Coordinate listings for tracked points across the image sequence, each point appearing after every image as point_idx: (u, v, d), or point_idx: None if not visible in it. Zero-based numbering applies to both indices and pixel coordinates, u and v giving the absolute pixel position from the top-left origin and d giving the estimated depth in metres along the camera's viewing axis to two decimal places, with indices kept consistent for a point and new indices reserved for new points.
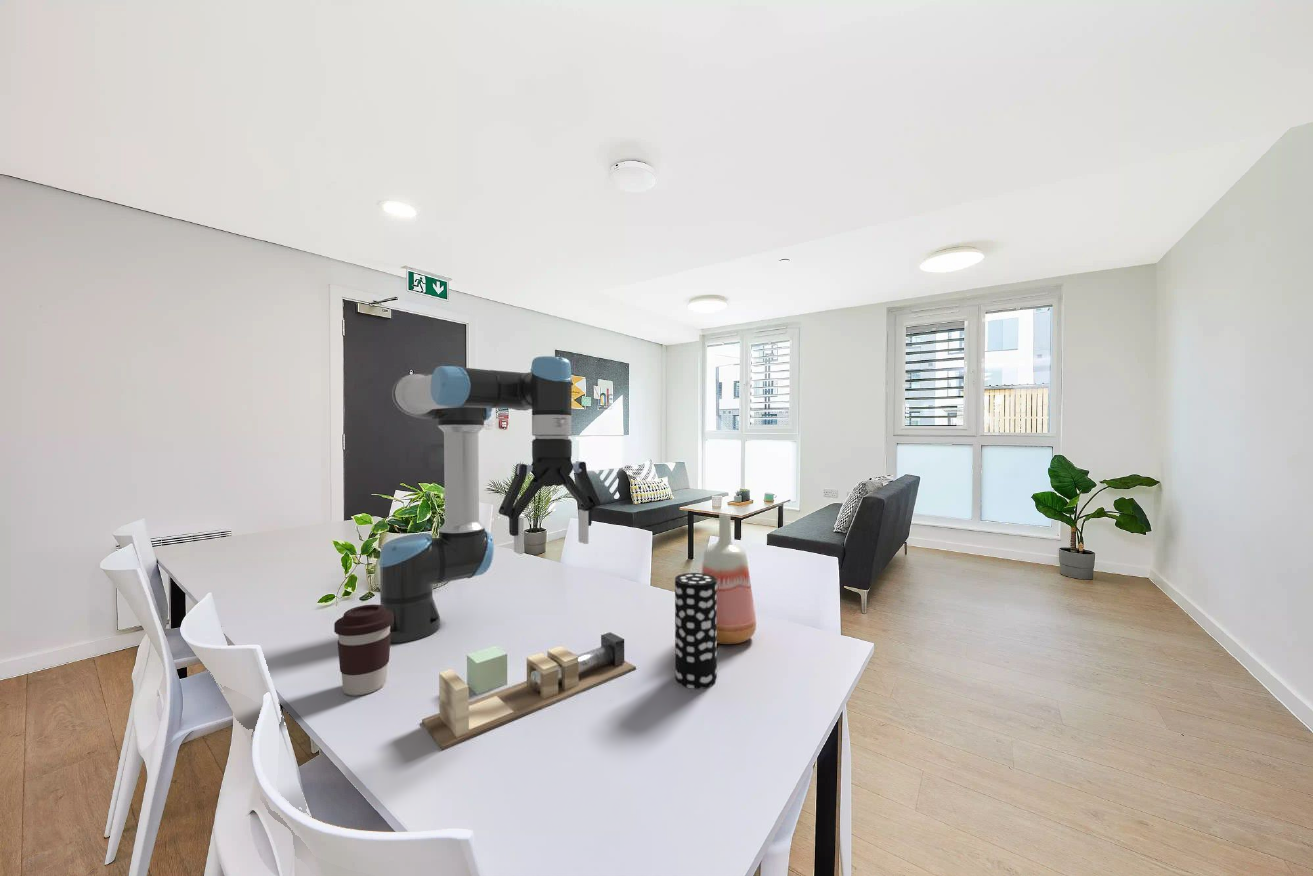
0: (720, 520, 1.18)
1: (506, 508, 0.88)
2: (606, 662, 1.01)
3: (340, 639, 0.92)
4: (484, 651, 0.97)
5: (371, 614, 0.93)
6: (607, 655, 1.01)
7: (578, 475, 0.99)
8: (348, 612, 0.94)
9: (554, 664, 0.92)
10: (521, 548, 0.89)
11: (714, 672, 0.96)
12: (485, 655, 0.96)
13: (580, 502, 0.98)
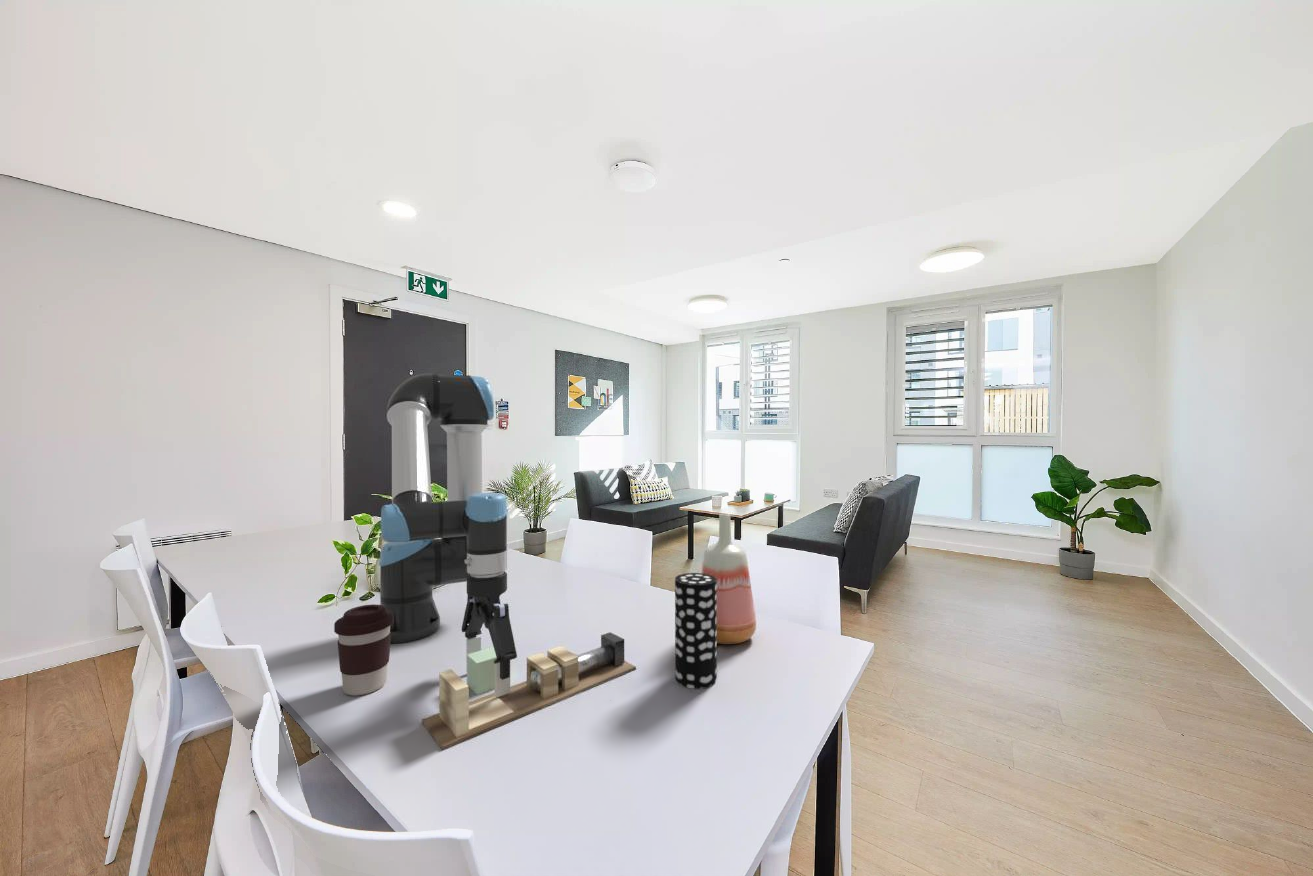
0: (720, 520, 1.18)
1: (462, 625, 1.02)
2: (606, 662, 1.01)
3: (340, 639, 0.92)
4: (484, 651, 0.97)
5: (371, 614, 0.93)
6: (607, 655, 1.01)
7: None
8: (348, 612, 0.94)
9: (554, 664, 0.92)
10: None
11: (714, 672, 0.96)
12: (485, 655, 0.96)
13: None
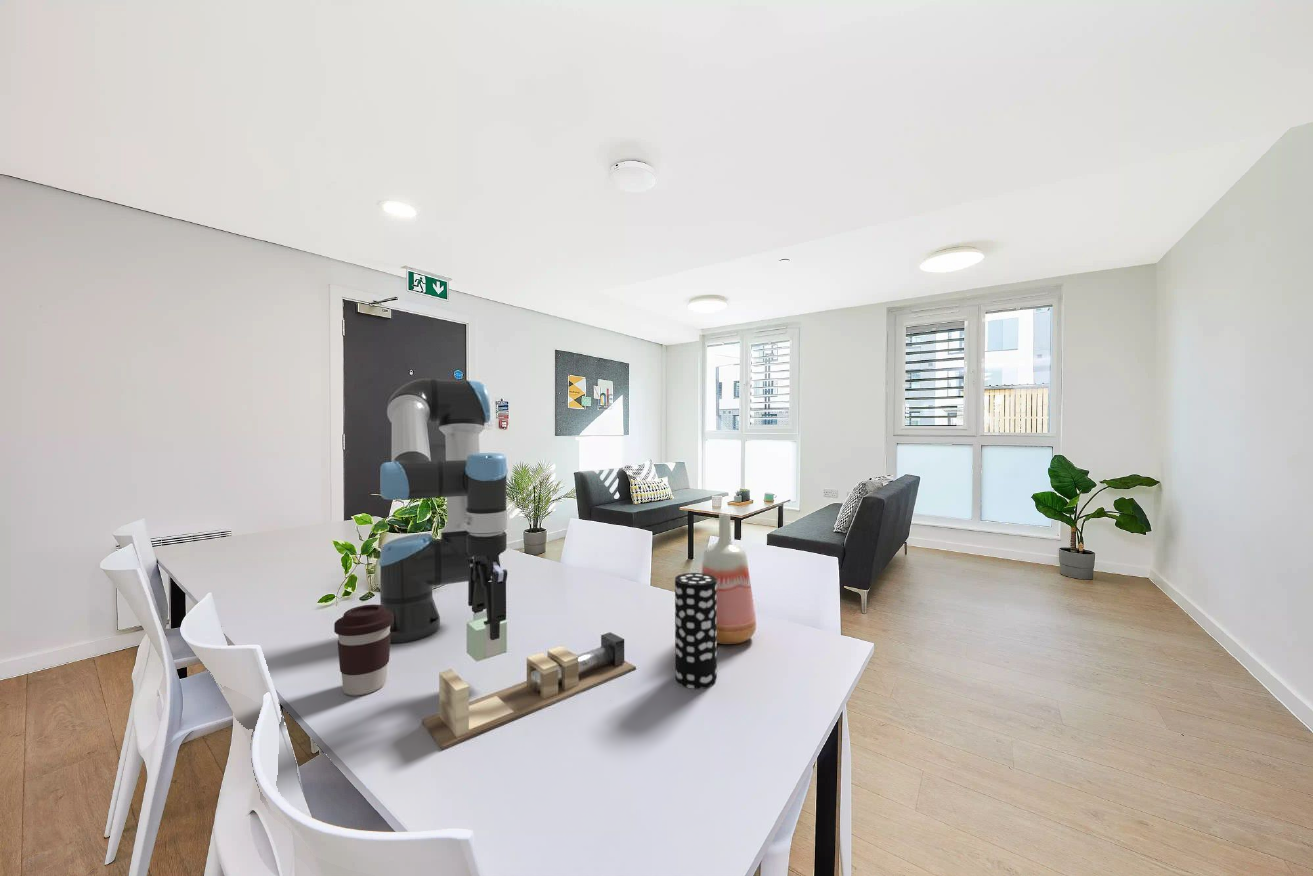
0: (720, 520, 1.18)
1: (468, 599, 1.00)
2: (606, 662, 1.01)
3: (340, 639, 0.92)
4: (484, 619, 0.98)
5: (371, 614, 0.93)
6: (607, 655, 1.01)
7: None
8: (348, 612, 0.94)
9: (554, 664, 0.92)
10: None
11: (714, 672, 0.96)
12: None
13: None
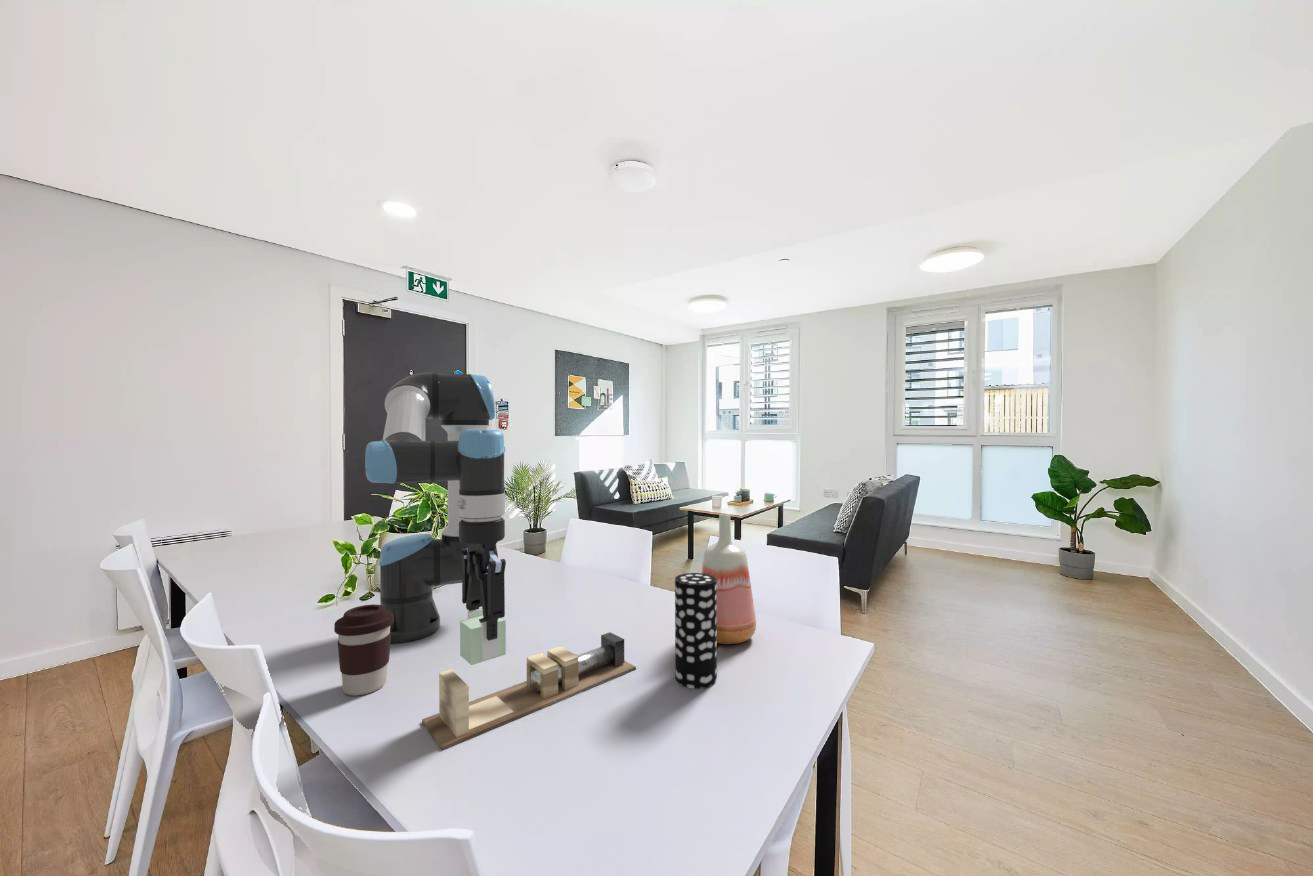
0: (720, 520, 1.18)
1: (462, 596, 0.89)
2: (606, 662, 1.01)
3: (340, 639, 0.92)
4: (480, 618, 0.86)
5: (371, 614, 0.93)
6: (607, 655, 1.01)
7: None
8: (348, 612, 0.94)
9: (554, 664, 0.92)
10: None
11: (714, 672, 0.96)
12: None
13: None
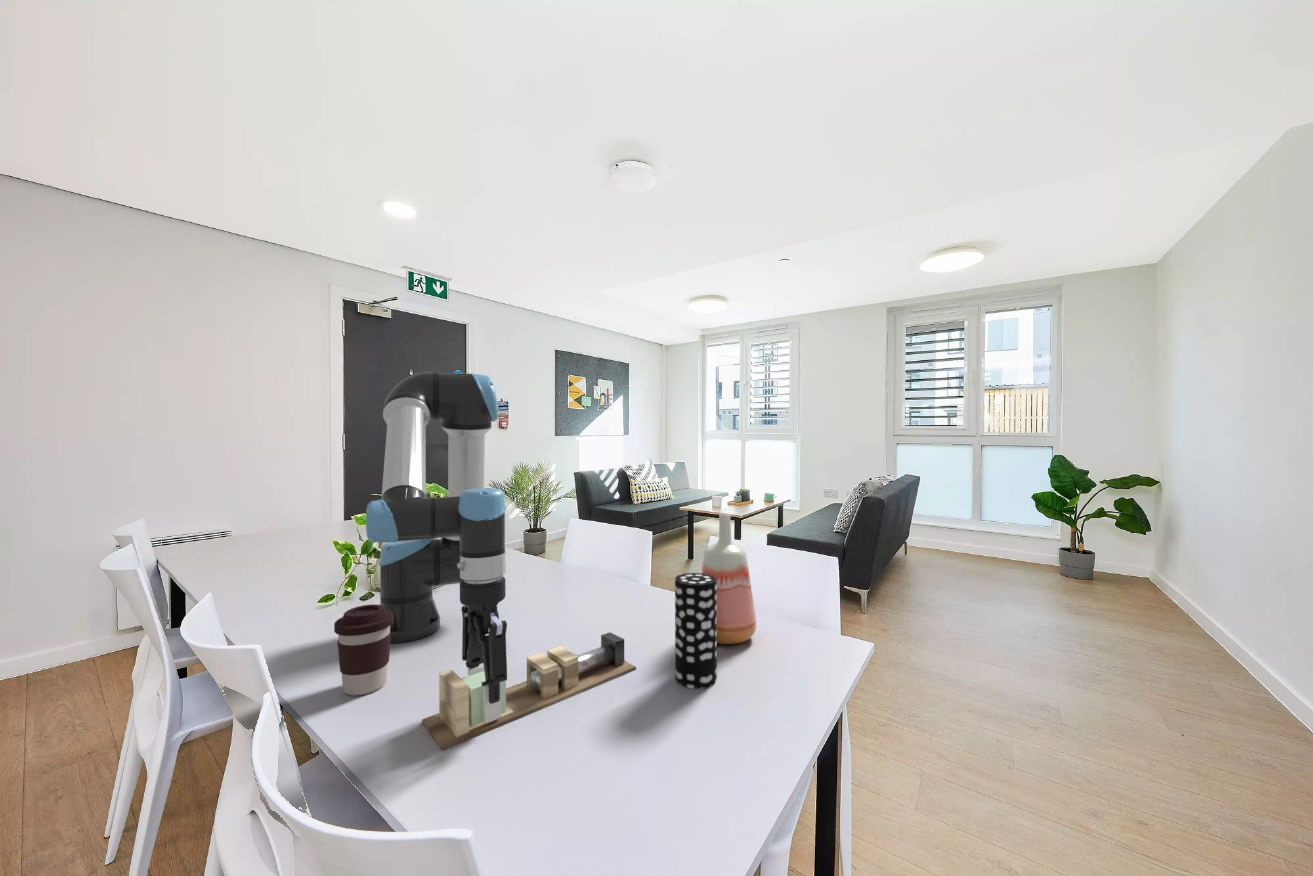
0: (720, 520, 1.18)
1: (462, 653, 0.89)
2: (606, 662, 1.01)
3: (340, 639, 0.92)
4: (480, 674, 0.86)
5: (371, 614, 0.93)
6: (607, 655, 1.01)
7: None
8: (348, 612, 0.94)
9: (554, 664, 0.92)
10: None
11: (714, 672, 0.96)
12: (480, 679, 0.85)
13: None
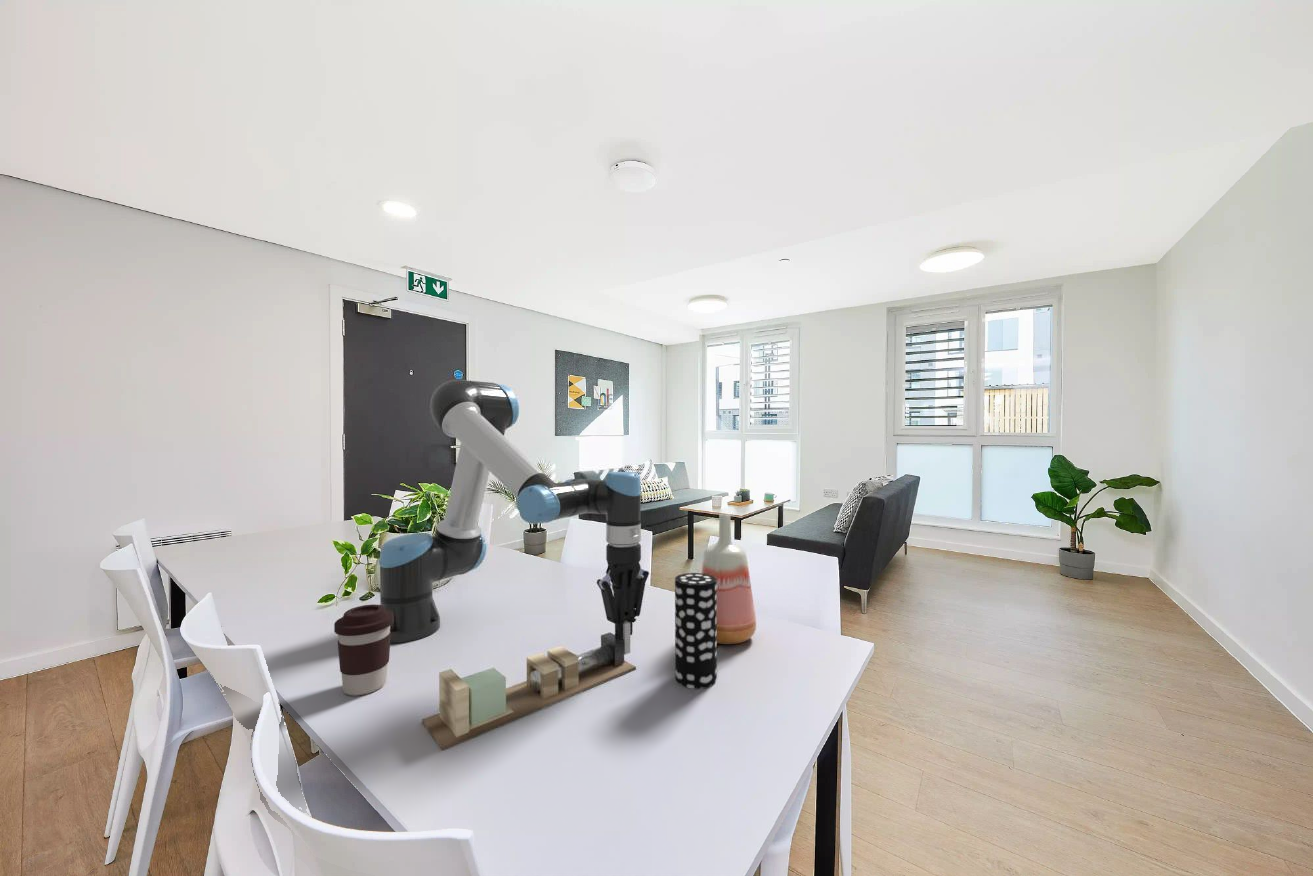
0: (720, 520, 1.18)
1: (614, 618, 1.03)
2: (606, 662, 1.01)
3: (340, 639, 0.92)
4: (480, 674, 0.86)
5: (371, 614, 0.93)
6: (607, 655, 1.01)
7: (636, 580, 1.09)
8: (348, 612, 0.94)
9: (554, 664, 0.92)
10: (626, 649, 1.05)
11: (714, 672, 0.96)
12: (480, 679, 0.85)
13: (626, 609, 1.07)
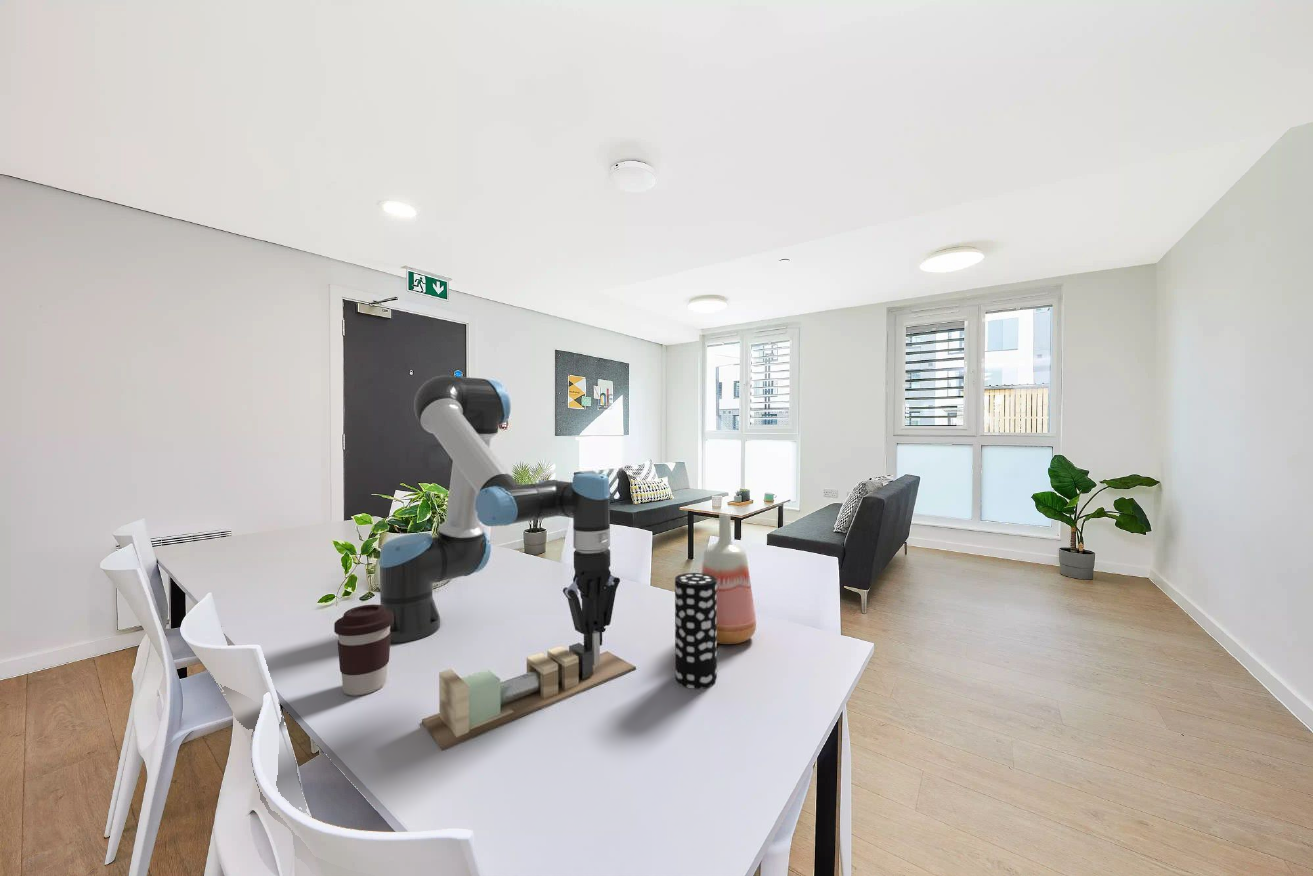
0: (720, 520, 1.18)
1: (581, 629, 0.98)
2: None
3: (340, 639, 0.92)
4: (474, 676, 0.86)
5: (371, 614, 0.93)
6: None
7: (607, 588, 1.04)
8: (348, 612, 0.94)
9: (554, 664, 0.92)
10: (595, 660, 1.00)
11: (714, 672, 0.96)
12: (475, 681, 0.84)
13: (595, 618, 1.01)
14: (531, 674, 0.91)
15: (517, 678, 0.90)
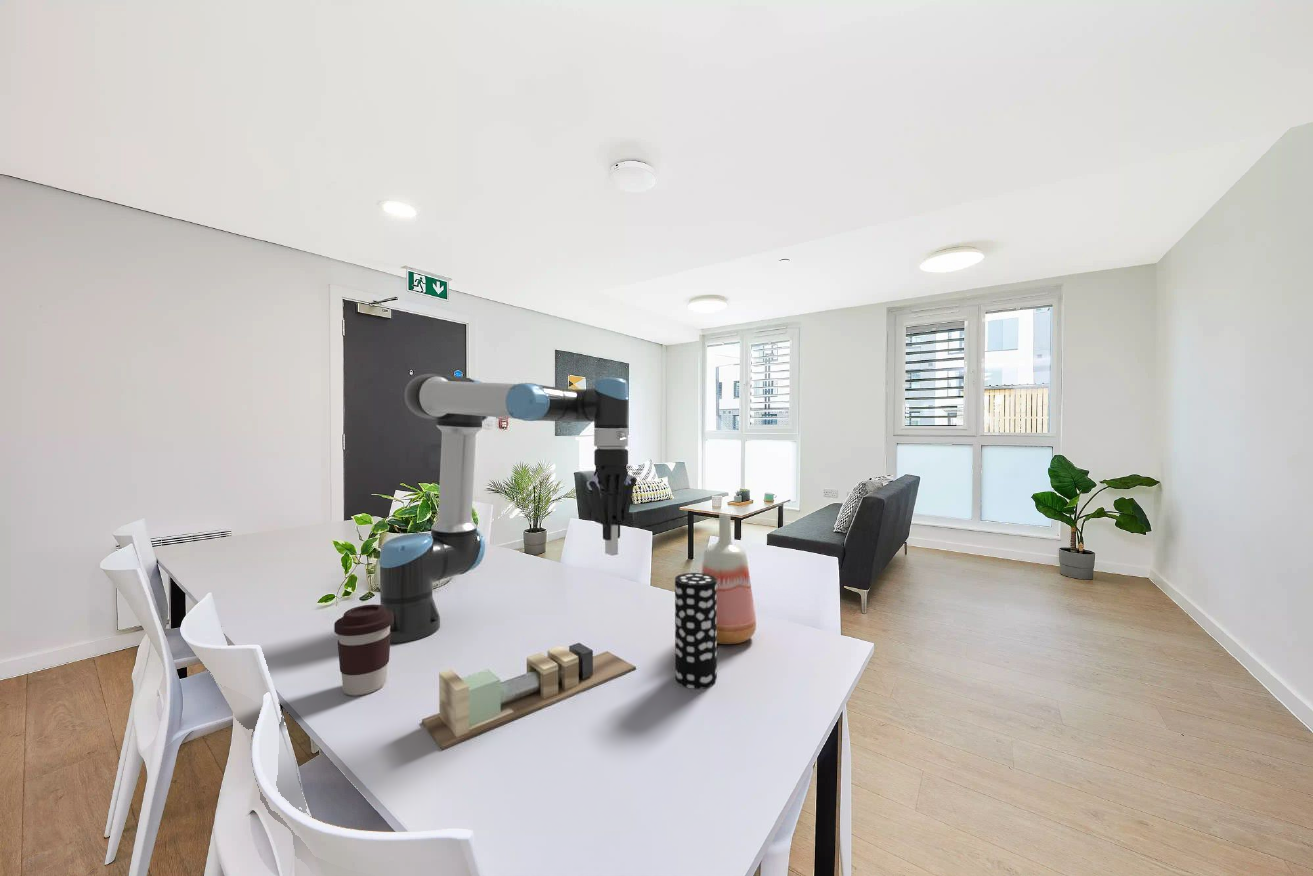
0: (720, 520, 1.18)
1: (601, 518, 1.06)
2: None
3: (340, 639, 0.92)
4: (474, 676, 0.86)
5: (371, 614, 0.93)
6: None
7: (624, 487, 1.12)
8: (348, 612, 0.94)
9: (554, 664, 0.92)
10: (613, 550, 1.08)
11: (714, 672, 0.96)
12: (475, 681, 0.84)
13: (614, 513, 1.09)
14: (531, 674, 0.91)
15: (517, 678, 0.90)
